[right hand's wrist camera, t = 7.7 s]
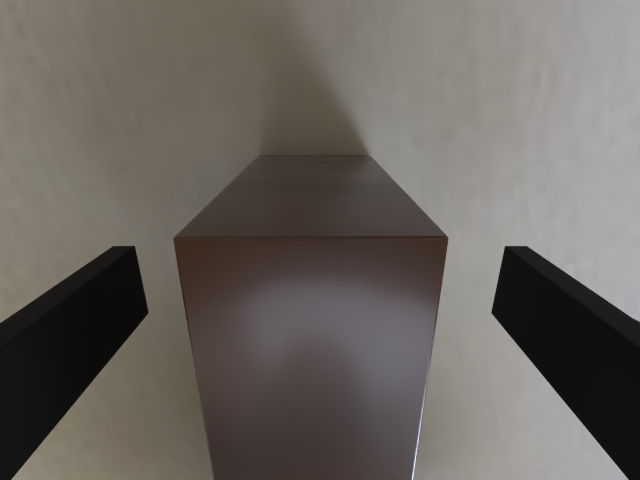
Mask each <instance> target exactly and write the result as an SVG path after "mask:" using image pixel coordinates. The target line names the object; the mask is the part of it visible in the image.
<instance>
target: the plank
mask: <svg viewBox="0 0 640 480" xmlns="http://www.w3.org/2000/svg"><path fill="white" fill-rule="evenodd" d="M173 241H174V247H175V253H176V258H177V264H178V270H179V276H180V282H181V288H182V294H183V300H184V306H185V312H186V318H187V324H188V330H189V336H190V342H191V348H192V354H193V360H194V366H195V372H196V378H197V383H198V389H199V395H200V401H201V407H202V413H203V419H204V425H205V431H206V437H207V443H208V449H209V455H210V461H211V467H212V473H213V479H214V480H413V476H414V469H415V462H416V455H417V449H418V442H419V435H420V428H421V421H422V415H423V408H424V401H425V394H426V387H427V381H428V374H429V367H430V360H431V353H432V347H433V340H434V333H435V326H436V319H437V313H438V306H439V299H440V292H441V285H442V279H443V272H444V265H445V258H446V251H447V245H448V236H447V235H446V234H445V233H444V232H443V231H442V230H441V229H440V228H439V227H438V226H437V225H436V224H435V223H434V222H433V221H432V220H431V219H430V218H429V217H428V216H427V215H426V213H425V212H424V211H423V210H422V209H421V208H420V207H419V206H418V205H417V204H416V203H415V202H414V201H413V200H412V199H411V198H410V197H409V196H408V195H407V194H406V193H405V191H404V190H403V189H402V188H401V187H400V186H399V185H398V184H397V183H396V182H395V181H394V180H393V179H392V178H391V177H390V176H389V175H388V174H387V173H386V172H385V171H384V170H383V168H382V167H381V166H380V165H379V164H378V163H377V162H376V161H375V160H374V159H373V158H372V157H371V156H259V157H257V158H256V159H255V160H254V161H253V162H252V163H251V164H250V165H249V166H248V167H247V168H246V169H245V170H244V171H243V172H242V173H241V174H240V175H239V176H238V177H237V178H236V179H234V180H233V181H232V182H231V183H230V184H229V185H228V186H227V187H226V188H225V189H224V190H223V191H222V192H221V193H220V194H219V195H218V196H217V197H216V198H215V199H214V200H213V201H212V202H210V203H209V204H208V205H207V206H206V207H205V208H204V209H203V210H202V211H201V212H200V213H199V214H198V215H197V216H196V217H195V218H194V219H193V220H192V221H191V222H190V223H189V224H187V225H186V226H185V227H184V228H183V229H182V230H181V231H180V232H179V233H178V234H177V235H176V236H175V237H174V239H173Z"/></svg>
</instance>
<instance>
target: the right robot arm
mask: <svg viewBox="0 0 640 480" xmlns="http://www.w3.org/2000/svg"><path fill="white" fill-rule="evenodd" d="M148 313H149V312H148V308H147V303H146V298H145V293H144V288H143V283H142V278H141V274H140V269H139V264H138V259H137V254H136V249H135V246H113V247H111V248H110V249H108V250H107V251H106V252H104V253H103V254H101V255H100V256H98V257H97V258H95V259H94V260H92V261H91V262H89V263H88V264H86V265H85V266H84V267H82V268H81V269H79V270H78V271H76V272H75V273H73V274H72V275H70V276H69V277H67V278H66V279H65V280H63V281H62V282H60V283H59V284H57V285H56V286H54V287H53V288H51V289H50V290H48V291H47V292H45V293H44V294H43V295H41V296H40V297H38V298H37V299H35V300H34V301H32V302H31V303H29V304H28V305H26V306H25V307H23V308H22V309H21V310H19V311H18V312H16V313H15V314H13V315H12V316H10V317H9V318H7V319H6V320H4V321H3V322H2V323H0V480H11V479H12V478H13V477H14V476H15V474H16V473H17V472H18V471H19V470H20V468H21V467H22V466H23V465H24V463H25V462H26V461H27V460H28V459H29V457H30V456H31V455H32V454H33V453H34V451H35V450H36V449H37V448H38V446H39V445H40V444H41V443H42V442H43V440H44V439H45V438H46V437H47V436H48V434H49V433H50V432H51V431H52V429H53V428H54V427H55V426H56V425H57V423H58V422H59V421H60V420H61V419H62V417H63V416H64V415H65V414H66V413H67V411H68V410H69V409H70V408H71V406H72V405H73V404H74V403H75V402H76V400H77V399H78V398H79V397H80V396H81V394H82V393H83V392H84V391H85V389H86V388H87V387H88V386H89V385H90V383H91V382H92V381H93V380H94V379H95V377H96V376H97V375H98V374H99V372H100V371H101V370H102V369H103V368H104V366H105V365H106V364H107V363H108V362H109V360H110V359H111V358H112V357H113V356H114V354H115V353H116V352H117V351H118V349H119V348H120V347H121V346H122V345H123V343H124V342H125V341H126V340H127V339H128V337H129V336H130V335H131V334H132V332H133V331H134V330H135V329H136V328H137V326H138V325H139V324H140V323H141V322H142V320H143V319H144V318H145V317H146V315H147V314H148ZM491 313H492V314H493V315H494V317H495V318H496V319H497V320H498V322H499V323H500V324H501V325H502V326H503V328H504V329H505V330H506V331H507V332H508V334H509V335H510V336H511V337H512V339H513V340H514V341H515V342H516V343H517V345H518V346H519V347H520V348H521V349H522V351H523V352H524V353H525V354H526V356H527V357H528V358H529V359H530V360H531V362H532V363H533V364H534V365H535V366H536V368H537V369H538V370H539V371H540V372H541V374H542V375H543V376H544V377H545V379H546V380H547V381H548V382H549V383H550V385H551V386H552V387H553V388H554V389H555V391H556V392H557V393H558V394H559V396H560V397H561V398H562V399H563V400H564V402H565V403H566V404H567V405H568V406H569V408H570V409H571V410H572V411H573V413H574V414H575V415H576V416H577V417H578V419H579V420H580V421H581V422H582V423H583V425H584V426H585V427H586V428H587V429H588V431H589V432H590V433H591V434H592V436H593V437H594V438H595V439H596V440H597V442H598V443H599V444H600V445H601V446H602V448H603V449H604V450H605V451H606V453H607V454H608V455H609V456H610V457H611V459H612V460H613V461H614V462H615V463H616V465H617V466H618V467H619V468H620V470H621V471H622V472H623V473H624V474H625V476H626V477H627V478H628V479H629V480H640V322H639V321H637V320H635V319H633V318H631V317H630V316H628V315H627V314H625V313H624V312H622V311H621V310H619V309H618V308H617V307H615V306H614V305H612V304H611V303H609V302H608V301H606V300H605V299H603V298H602V297H600V296H599V295H597V294H596V293H595V292H593V291H592V290H590V289H589V288H587V287H586V286H584V285H583V284H581V283H580V282H578V281H577V280H575V279H574V278H573V277H571V276H570V275H568V274H567V273H565V272H564V271H562V270H561V269H559V268H558V267H556V266H555V265H554V264H552V263H551V262H549V261H548V260H546V259H545V258H543V257H542V256H540V255H539V254H537V253H536V252H534V251H533V250H532V249H530V248H529V247H527V246H505V249H504V254H503V259H502V264H501V269H500V274H499V278H498V283H497V288H496V293H495V298H494V303H493V308H492V312H491Z"/></svg>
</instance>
